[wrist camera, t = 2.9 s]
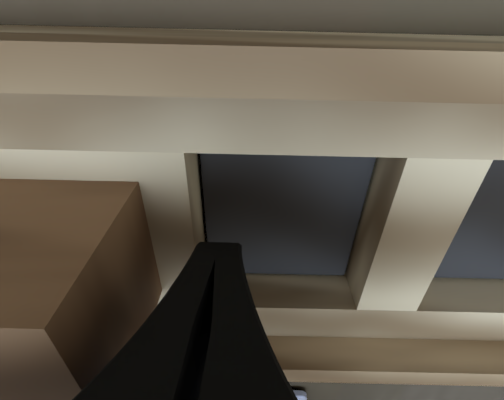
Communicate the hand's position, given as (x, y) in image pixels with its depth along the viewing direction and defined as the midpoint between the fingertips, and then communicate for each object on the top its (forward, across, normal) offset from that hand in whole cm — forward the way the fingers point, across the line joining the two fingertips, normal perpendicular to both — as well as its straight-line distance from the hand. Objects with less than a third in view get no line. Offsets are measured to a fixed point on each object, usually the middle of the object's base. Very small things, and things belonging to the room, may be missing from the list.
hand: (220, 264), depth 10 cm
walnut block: (+1, +5, 0) cm, 5 cm away
